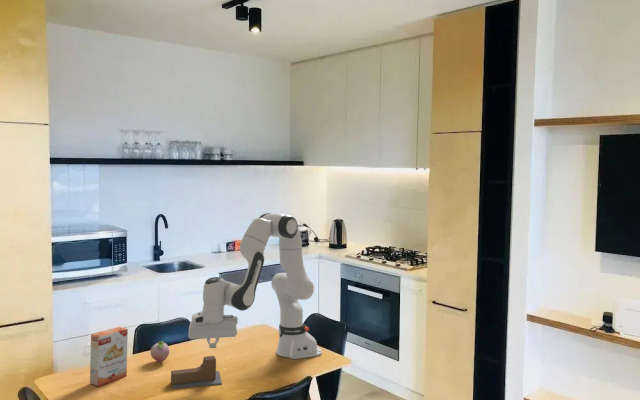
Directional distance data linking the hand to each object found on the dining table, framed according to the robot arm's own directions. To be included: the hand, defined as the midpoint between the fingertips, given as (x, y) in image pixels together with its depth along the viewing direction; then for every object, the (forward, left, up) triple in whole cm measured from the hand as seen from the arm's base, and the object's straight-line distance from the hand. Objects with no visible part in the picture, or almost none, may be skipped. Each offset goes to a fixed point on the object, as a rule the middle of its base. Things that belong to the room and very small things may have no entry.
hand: (212, 347), depth 216 cm
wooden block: (-1, 0, -8) cm, 9 cm away
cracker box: (+42, -8, -14) cm, 45 cm away
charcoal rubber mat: (+7, 0, -14) cm, 15 cm away
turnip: (+22, -24, -14) cm, 35 cm away
